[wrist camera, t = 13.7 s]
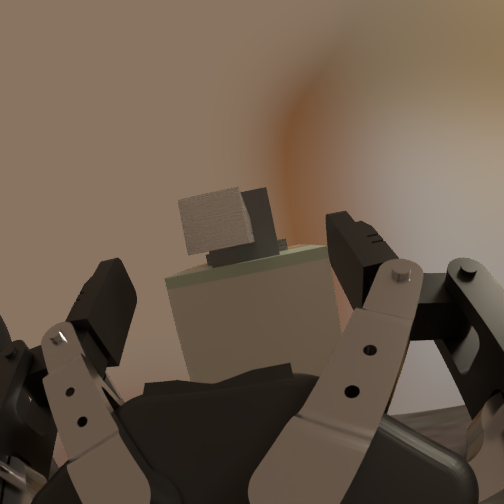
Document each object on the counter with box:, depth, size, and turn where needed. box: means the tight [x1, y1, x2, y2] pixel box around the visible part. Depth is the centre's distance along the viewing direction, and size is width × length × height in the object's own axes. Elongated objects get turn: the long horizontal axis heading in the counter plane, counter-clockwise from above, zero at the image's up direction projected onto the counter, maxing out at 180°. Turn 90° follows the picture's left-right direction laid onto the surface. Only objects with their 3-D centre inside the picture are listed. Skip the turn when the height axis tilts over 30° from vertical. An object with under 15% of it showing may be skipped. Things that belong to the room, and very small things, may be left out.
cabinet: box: [165, 239, 342, 384], centre depth 35 cm, size 16×14×33 cm
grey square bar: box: [178, 187, 280, 268], centre depth 23 cm, size 24×6×6 cm, turn 179°
